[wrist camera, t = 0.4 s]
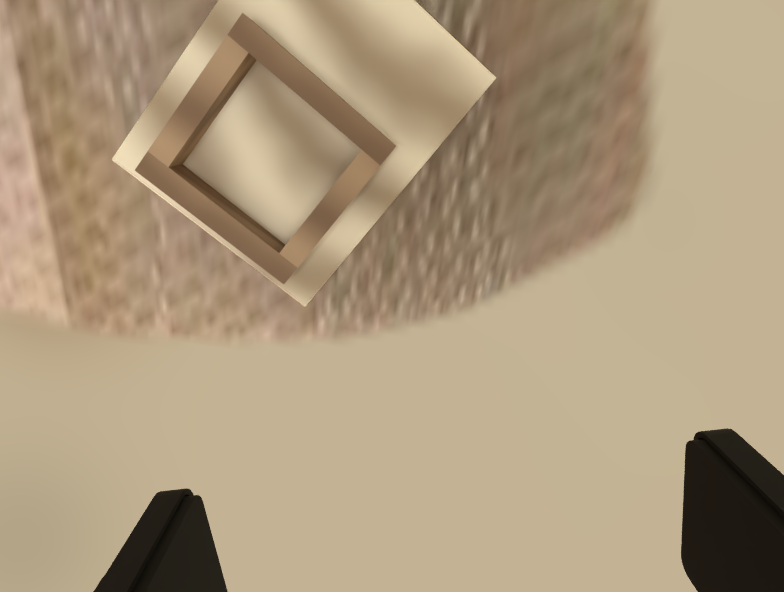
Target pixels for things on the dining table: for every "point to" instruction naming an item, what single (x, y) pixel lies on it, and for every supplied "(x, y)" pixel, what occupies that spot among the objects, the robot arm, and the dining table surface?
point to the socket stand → (301, 126)
